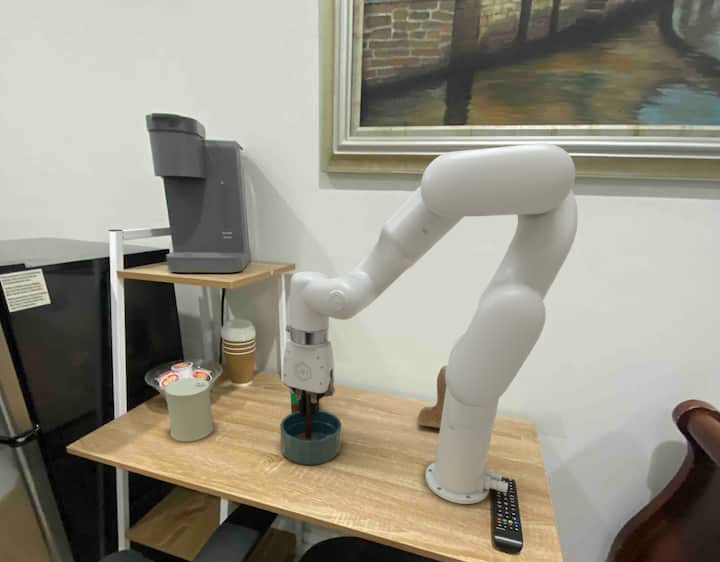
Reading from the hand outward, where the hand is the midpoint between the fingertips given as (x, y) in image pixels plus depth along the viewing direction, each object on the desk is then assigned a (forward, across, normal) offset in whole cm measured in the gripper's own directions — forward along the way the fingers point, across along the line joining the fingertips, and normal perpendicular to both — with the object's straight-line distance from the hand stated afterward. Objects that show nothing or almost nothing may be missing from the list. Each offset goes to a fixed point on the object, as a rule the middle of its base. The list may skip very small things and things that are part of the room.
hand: (308, 414), depth 84 cm
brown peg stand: (+7, 0, 0) cm, 7 cm away
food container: (+8, -7, +14) cm, 18 cm away
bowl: (+8, +1, 0) cm, 8 cm away
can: (+9, -27, -6) cm, 29 cm away
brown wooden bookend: (+8, +27, +25) cm, 37 cm away
